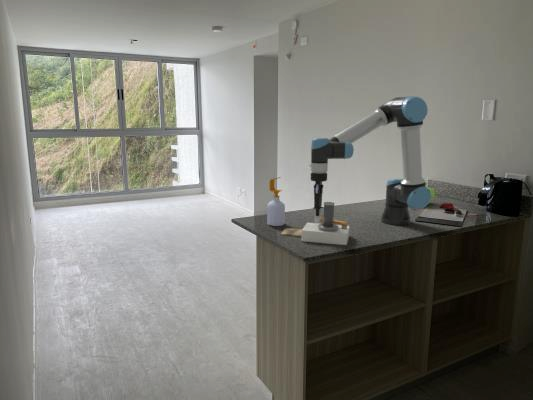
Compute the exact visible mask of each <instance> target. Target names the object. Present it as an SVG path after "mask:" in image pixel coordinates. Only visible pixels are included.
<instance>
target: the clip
mask: <svg viewBox="0 0 533 400" xmlns="http://www.w3.org/2000/svg"><path fill="white" fill-rule="evenodd" d="M323 221H324V217H321V222H322V223H323ZM321 222H320V223H321ZM333 224H335V225H347V226H348V221H344V220H342V221H341V220H336V219H333Z"/></svg>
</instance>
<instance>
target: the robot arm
mask: <svg viewBox="0 0 533 400" xmlns="http://www.w3.org/2000/svg"><path fill="white" fill-rule="evenodd" d="M428 110H429V109H428V105H427V103H426V101H425V100H424V99H423V98H421V97H419V96H400V97H394V98H392V99H390V100H388V101H386V102H384V103H383V104H381V105H380V106H379V107H377V108H375V109H374V112H372V113H371V114H368V115H367V116H365V117H364V118H362V119H361V120H359V121H358V122H355V123H354V124H352V125H350V126H348V127H347V128H346V129H344V130H342V131H341V132H339V133H337V134H335V135H333V136H332V137H330V138H327V137H314V138H312V140H311V148H310V149H311V151H310V153H311V154H310V155H311V158H310V159H311V161H310V165H309V167H310V171H311V173H310V181H311V182H315V183H314V184H313V197H314V198H313V203H314V204H313V205H314V207H312V209H313V210H314V222H313V223H318V224H321V218H322V214H321V213H322V209H324V206H322V204H323V203H322V202H323V193H324V192H323V190H324V184H323V182H327V180H328V169H329V167H328V165H329V164H328V163H329V160H331V159H333V160H336V159H337V160H339V159H340V160H341V159H343V160H346V159H351V158H352V157H353V155H354V150H355V149H354V145H353V143H355V142H357V141H358V140H360V139H362V138H364V137H365V136H367V135H369V134H370V133H372V132H374V131H375V130H377V129H379V128H380V127H381V126H383V127H385V126H388V125H389V124H392V123H396V128H397V129H399V130H400V137H401V138H400V140H401V142H400V143H401V156H402V157H401V158H402V175H403V176H402V177H403V178H395V179H394V178H393V179H392V178H391V179H388V180H387V181H386V191H385V205H384V207H383V211H382V213H381V216H380V221H381V222H382V223H383V224H384V223H385V224H388V225H395V226H407V225H409V224H411V220H412V217H411V215H410V211H409V209H412V210H418V211H419V210H421V209H424V208H425V207H427V206H428V205H429V204H430V203H431V202H430V199H431V192H430V190H429V189H428V188H429V187H428V188H426V180H425V178H423V172H422V171H423V170H422V153H421V152H422V149H421V148H422V147H421V145H422V144H421V128H422V126H424V120H425V119H426V117H427V115H428ZM429 202H430V203H429ZM428 203H429V204H428ZM427 204H428V205H427Z"/></svg>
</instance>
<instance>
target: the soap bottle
mask: <svg viewBox="0 0 533 400" xmlns="http://www.w3.org/2000/svg"><path fill="white" fill-rule="evenodd" d="M280 178H282V177H281V176H279V177H275V178H271V179H270V180H269V192H273V194H274V195H273V196H272V200H270V201H269V202H268V203H267V208H266V209H267V210H266V211H267V212H266V218H267V219H266V224H267V225H268V226H270V225H271V227H282V226H284V225H285V223H286V222H285V217H286V216H285V215H286V213H285V212H286V205H285V203H284V202H283V201H281V200H280V195H279V193H280V192H283V191H282V190H281V189H277V188H275V181H276V180H277V179H280Z"/></svg>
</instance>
